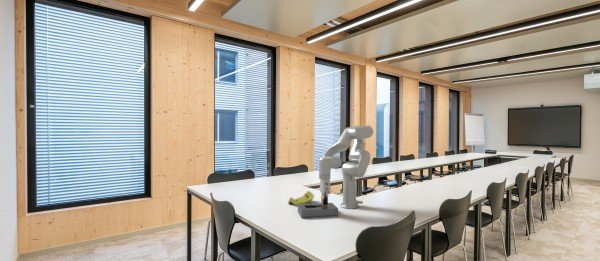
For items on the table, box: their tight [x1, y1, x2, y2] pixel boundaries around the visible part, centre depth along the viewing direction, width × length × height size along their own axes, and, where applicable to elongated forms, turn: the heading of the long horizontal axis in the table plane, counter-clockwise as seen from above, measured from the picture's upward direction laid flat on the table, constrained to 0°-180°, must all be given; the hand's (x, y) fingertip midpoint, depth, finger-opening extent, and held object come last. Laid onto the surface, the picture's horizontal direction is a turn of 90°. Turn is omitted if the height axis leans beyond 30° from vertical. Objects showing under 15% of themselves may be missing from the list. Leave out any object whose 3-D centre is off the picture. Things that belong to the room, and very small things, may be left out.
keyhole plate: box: [297, 202, 339, 219], centre depth 186 cm, size 24×14×5 cm, turn 100°
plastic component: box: [287, 190, 315, 208], centre depth 212 cm, size 20×7×10 cm
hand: (324, 203), depth 187 cm, fingers open, 3 cm apart
